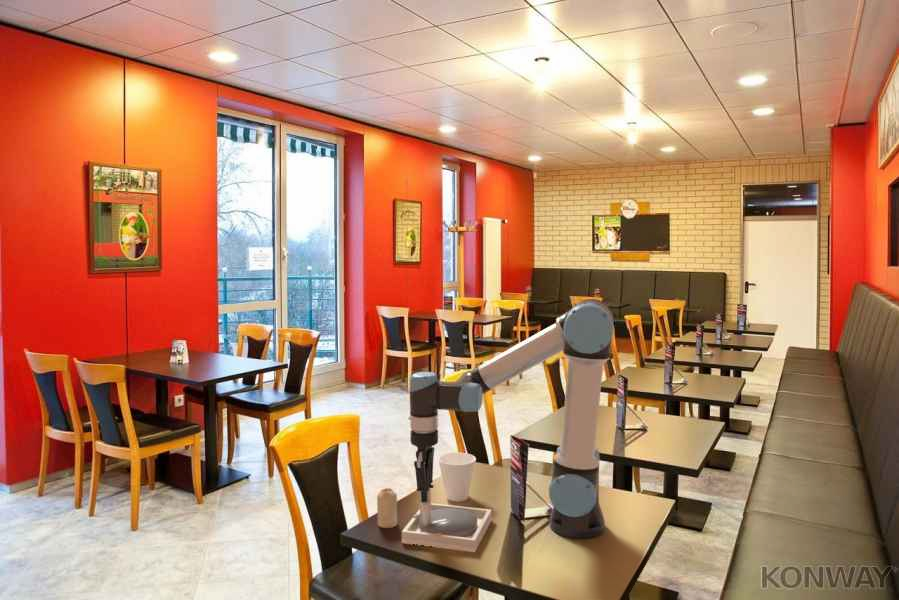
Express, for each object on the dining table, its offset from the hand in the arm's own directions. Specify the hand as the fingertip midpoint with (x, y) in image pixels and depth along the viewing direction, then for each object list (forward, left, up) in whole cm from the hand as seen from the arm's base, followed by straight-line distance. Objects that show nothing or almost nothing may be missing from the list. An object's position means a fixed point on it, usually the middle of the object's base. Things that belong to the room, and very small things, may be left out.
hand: (425, 511), depth 184 cm
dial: (-6, -1, -4) cm, 8 cm away
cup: (-2, -25, -6) cm, 26 cm away
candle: (+12, -1, -6) cm, 13 cm away
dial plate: (-6, -1, -6) cm, 8 cm away
